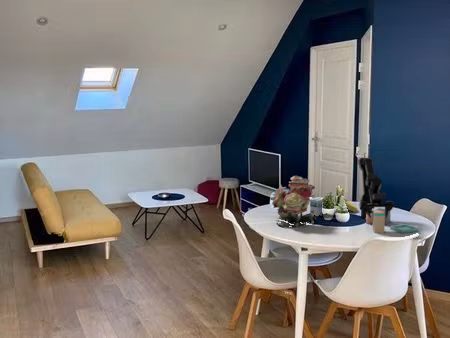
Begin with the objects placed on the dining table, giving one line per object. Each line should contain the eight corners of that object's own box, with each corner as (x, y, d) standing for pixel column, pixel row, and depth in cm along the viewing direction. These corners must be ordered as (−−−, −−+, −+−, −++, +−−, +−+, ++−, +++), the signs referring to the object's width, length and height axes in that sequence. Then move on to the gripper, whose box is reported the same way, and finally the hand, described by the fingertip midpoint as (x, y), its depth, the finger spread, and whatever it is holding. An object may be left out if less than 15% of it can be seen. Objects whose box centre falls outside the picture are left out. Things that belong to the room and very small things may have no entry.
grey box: (373, 223, 308) (374, 210, 307) (378, 220, 315) (379, 208, 314) (386, 225, 304) (386, 212, 302) (390, 222, 310) (391, 209, 309)
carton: (372, 230, 294) (372, 210, 292) (382, 230, 293) (382, 210, 292) (374, 232, 288) (374, 212, 286) (384, 232, 288) (384, 212, 286)
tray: (390, 229, 295) (390, 226, 295) (405, 227, 299) (405, 224, 299) (403, 233, 285) (403, 230, 285) (418, 231, 289) (418, 228, 289)
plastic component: (358, 208, 339) (345, 203, 338) (353, 218, 341) (340, 212, 339) (348, 200, 359) (336, 195, 357) (344, 209, 360) (332, 204, 358)
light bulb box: (317, 216, 330) (317, 200, 329) (309, 214, 335) (309, 199, 334) (327, 213, 337) (327, 198, 335) (319, 212, 342) (319, 196, 341)
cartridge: (364, 223, 309) (365, 214, 308) (367, 222, 312) (367, 212, 311) (371, 224, 306) (372, 215, 305) (374, 223, 309) (374, 213, 309)
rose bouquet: (269, 218, 327) (269, 173, 323) (314, 218, 326) (314, 172, 322) (272, 228, 302) (271, 179, 297) (321, 228, 301) (321, 178, 297)
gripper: (360, 187, 294) (364, 210, 284) (393, 187, 292) (397, 210, 283) (358, 198, 302) (361, 220, 293) (389, 198, 301) (393, 220, 291)
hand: (378, 217), depth 290 cm, fingers open, 9 cm apart
